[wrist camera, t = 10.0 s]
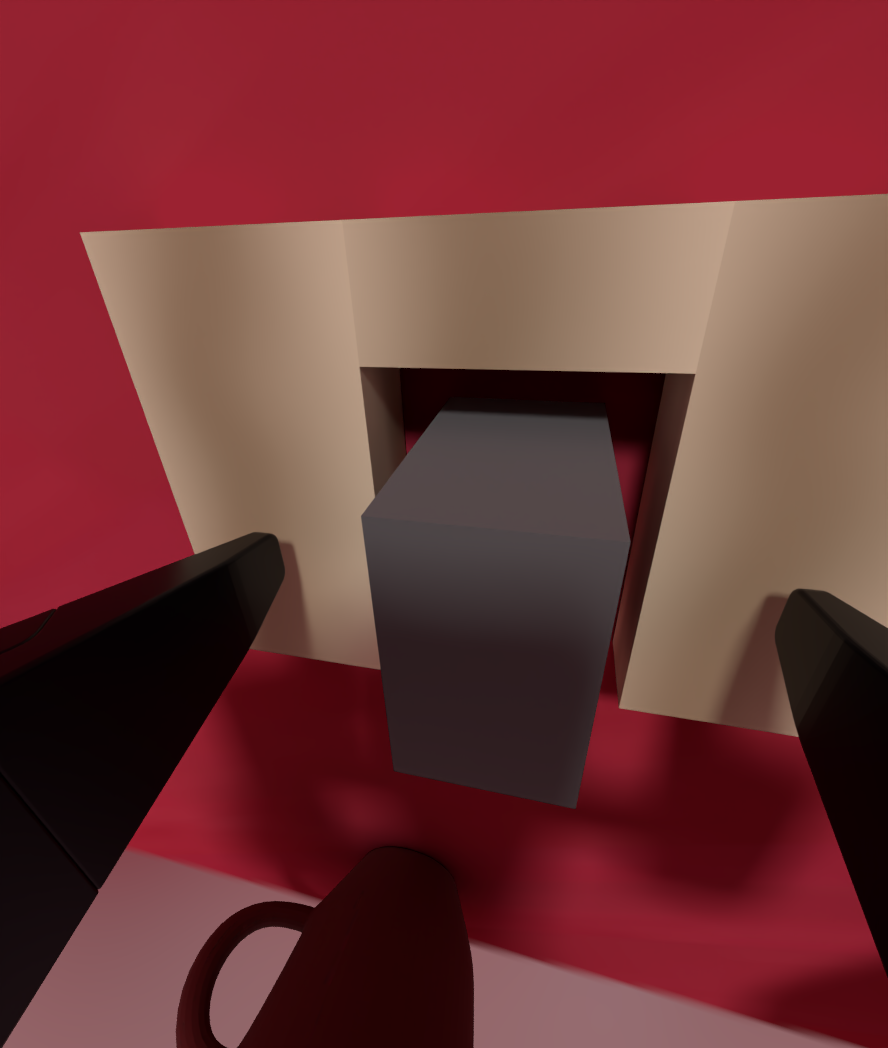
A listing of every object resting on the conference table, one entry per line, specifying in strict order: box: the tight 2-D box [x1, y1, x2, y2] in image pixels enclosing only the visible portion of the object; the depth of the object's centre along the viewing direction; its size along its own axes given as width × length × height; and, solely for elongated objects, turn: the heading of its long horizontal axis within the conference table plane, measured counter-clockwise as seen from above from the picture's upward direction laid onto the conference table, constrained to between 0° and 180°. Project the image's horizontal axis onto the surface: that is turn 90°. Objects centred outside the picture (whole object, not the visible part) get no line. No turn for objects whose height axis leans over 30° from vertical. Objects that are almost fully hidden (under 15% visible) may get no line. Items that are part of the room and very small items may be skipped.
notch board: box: [80, 194, 888, 737], centre depth 9 cm, size 14×9×2 cm, turn 92°
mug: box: [176, 847, 474, 1048], centre depth 17 cm, size 10×8×10 cm
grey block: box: [361, 397, 630, 809], centre depth 9 cm, size 3×5×5 cm, turn 1°
